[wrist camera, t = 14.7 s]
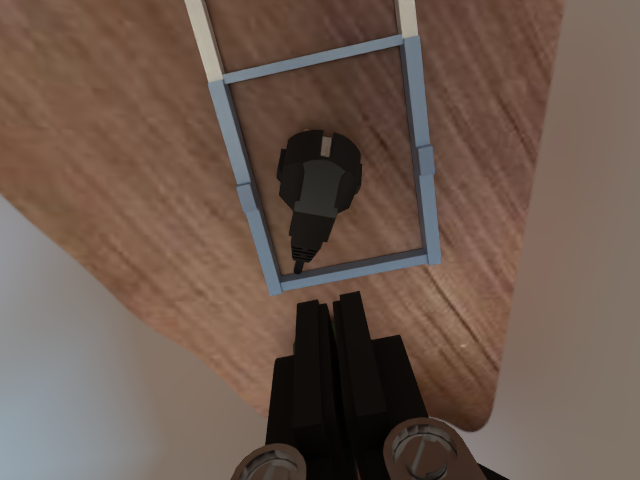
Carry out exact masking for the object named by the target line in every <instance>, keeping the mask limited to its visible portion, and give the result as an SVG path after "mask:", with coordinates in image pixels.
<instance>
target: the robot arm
mask: <svg viewBox="0 0 640 480" xmlns="http://www.w3.org/2000/svg"><path fill="white" fill-rule="evenodd" d="M333 311H334V320H335V330H336V338H335V334H334V330H333V326H332V322H331V318H330V314H329V310H328V306H327V303H325V304H320V305H319V301H318V299H317V300H312V301H307V302H302V303H298V304H297V316H296V337H295V355H292V356H286V357H281V358H277V359H276V360H275V364H274V372H273V381H272V390H271V398H270V407H269V416H268V425H267V434H266V442H265V446H263V447H261V448H258V449H256V450H254V451H253V452H252V453H250V454H249V455H248V456H246V457H245V458H244V459H243V460H242V462H241V463H240V464H239V465H238V466H237V468H236V470H235V472H234V474H233V476H232V478H231V480H359V476H358V471H359V475H360V479H361V480H509V479H507V478H505V477H503V476H501V475H499V474H498V473H496V472H494V471H492V470H490V469H488V468H486V467H484V466H482V465H481V464H479V463H477V462H476V460H475V459H474V457H473V456H472V454H471V452H470V451H469V449H468V447H467V446H466V444H465V442H464V441H463V439H462V438H461V437H460V435H459V434H458V433H457V432H456V431H455V429H453V428H452V427H450V426H449V425H447V424H446V423H444V422H442V421H439V420H436V419H433V418H429V417H428V414H427V411H426V408H425V405H424V402H423V399H422V397H421V394H420V391H419V388H418V385H417V382H416V379H415V376H414V373H413V370H412V367H411V365H410V362H409V359H408V356H407V353H406V350H405V347H404V344H403V341H402V339H401V336H400V335H395V336H390V337H385V338H380V339H374V340H371V339H370V334H369V330H368V325H367V321H366V317H365V312H364V308H363V304H362V299H361V295H360V291H357V292H352V293H347V294H342V295H340V301H335V302H333ZM336 340H337V342H336ZM357 467H358V468H357Z"/></svg>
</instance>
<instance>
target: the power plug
mask: <svg viewBox="0 0 640 480" xmlns="http://www.w3.org/2000/svg"><path fill="white" fill-rule="evenodd" d="M360 158H361V154H360V151H359V149H358V148H357V147H356V145H355V144H354V143H353V142H352V141H350V140H349V139H348V138H346V137H345V136H344V135H340V134H338V133H335V132H334V134H333V138H329V137H324V136H323V130H311V129H309V128H305V129H303V130H302V132H301V133H298V134H296V135H294V136H293V137H291V138H290V139H289V140H288V144H287V149H281V154H280V159H279V164H278V170H277V179H278V180H279V181H280V182H281V185H280V192H279V196H280V197H281V198H282V199H283V200H284V202H285V203H286V204H287V205H288V206H289V207H290V208H291V209H292V210H293V216H292V221H291V226H290V230H289V236H292V239H291V248H292V258H293V260H295V261H296V263H295V267H294V273H295V274H300V273H301V272H302V268H303V265H304V262H307V263H309V262H310V261H311V260H312V259H313V257H314V256H315V255H316V253H317V252H318V251H319V250H320V248H321V246H322V243H323V242H327V241H328V238H329V235H330V233H331V230H332V227H333V224H334V222H335V219H336V216H337V213H339V212H342V211H344V210H346V209H348V208H349V207H350V204H351V202H352V199H353V197H354V195H355V194H357V193H358V191H359V189H360V186H361V176H362V164H360Z"/></svg>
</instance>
